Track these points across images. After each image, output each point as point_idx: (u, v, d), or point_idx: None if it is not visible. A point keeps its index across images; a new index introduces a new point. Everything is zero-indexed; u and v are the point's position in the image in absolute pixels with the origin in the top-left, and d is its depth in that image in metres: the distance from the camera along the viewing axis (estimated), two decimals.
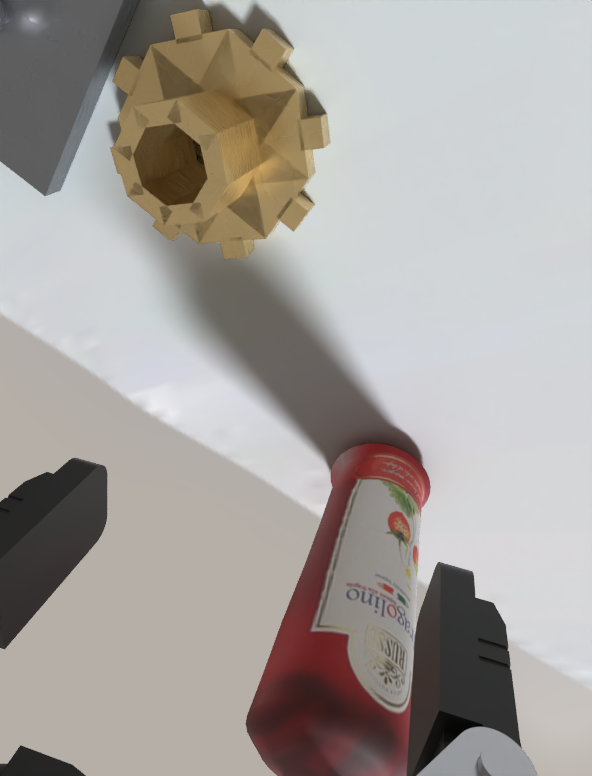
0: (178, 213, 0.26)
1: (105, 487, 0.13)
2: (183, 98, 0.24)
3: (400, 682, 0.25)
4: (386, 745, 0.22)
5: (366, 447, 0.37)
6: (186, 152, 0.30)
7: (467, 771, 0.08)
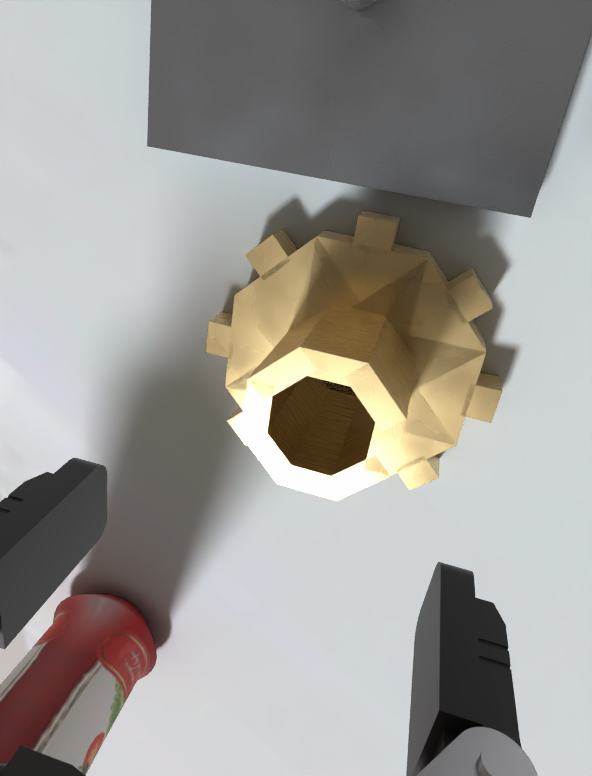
0: (267, 450, 0.19)
1: (105, 487, 0.13)
2: (407, 411, 0.18)
3: None
4: None
5: (132, 620, 0.32)
6: None
7: (467, 771, 0.08)
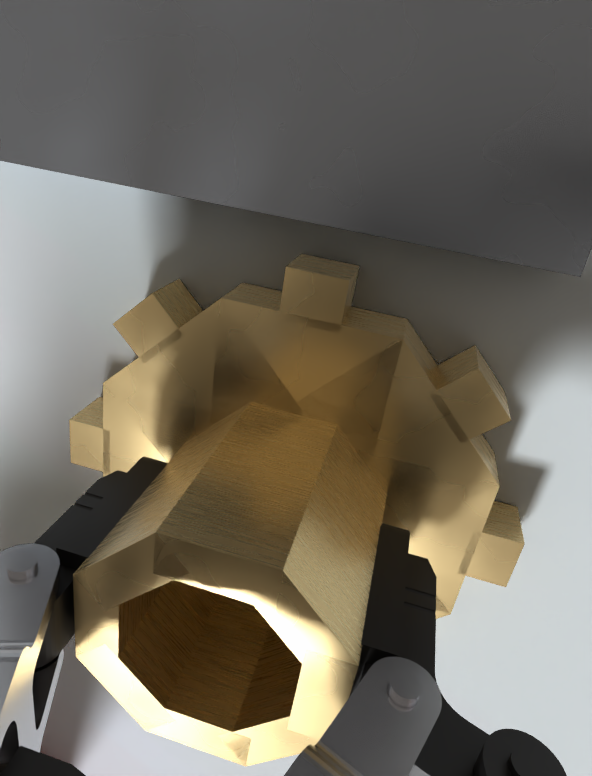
0: (122, 682, 0.11)
1: None
2: None
3: None
4: None
5: None
6: None
7: (380, 698, 0.09)
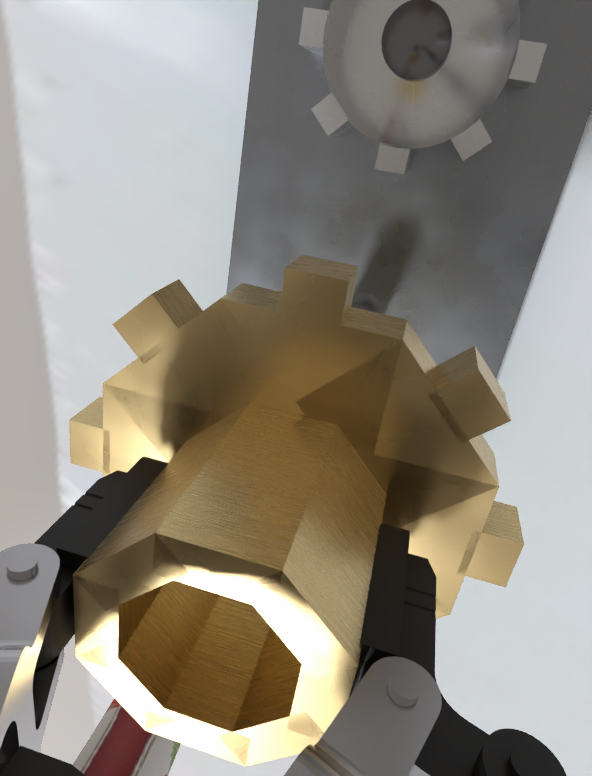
0: (122, 682, 0.11)
1: None
2: None
3: None
4: None
5: None
6: None
7: (380, 698, 0.09)
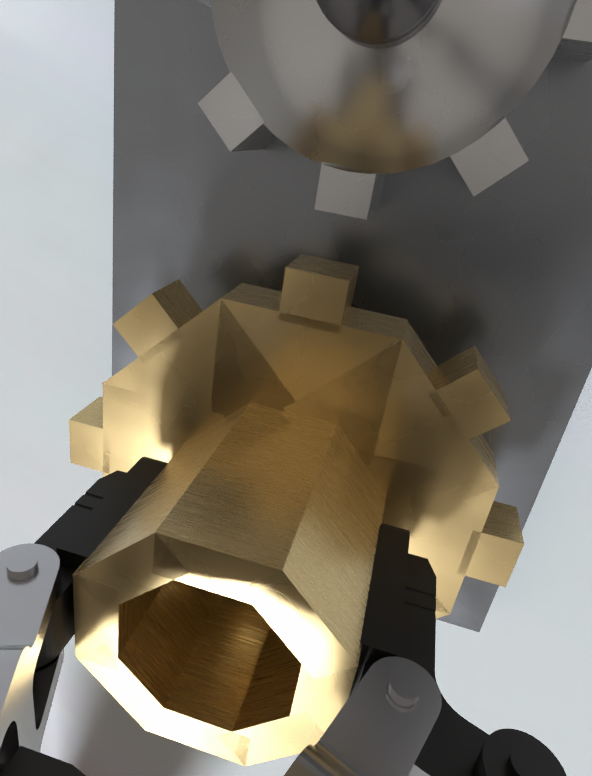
0: (121, 682, 0.11)
1: None
2: None
3: None
4: None
5: None
6: None
7: (380, 698, 0.09)
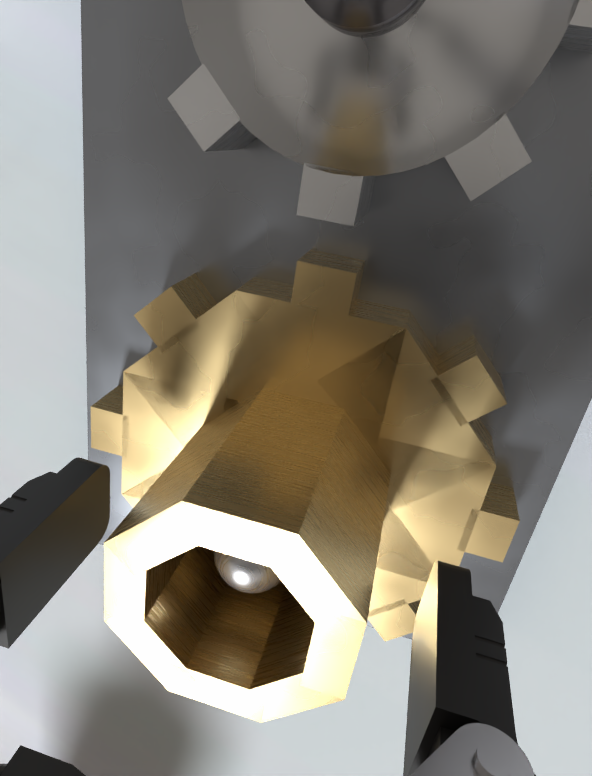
0: (147, 644, 0.12)
1: (108, 487, 0.13)
2: (369, 598, 0.11)
3: None
4: None
5: None
6: None
7: (463, 767, 0.08)
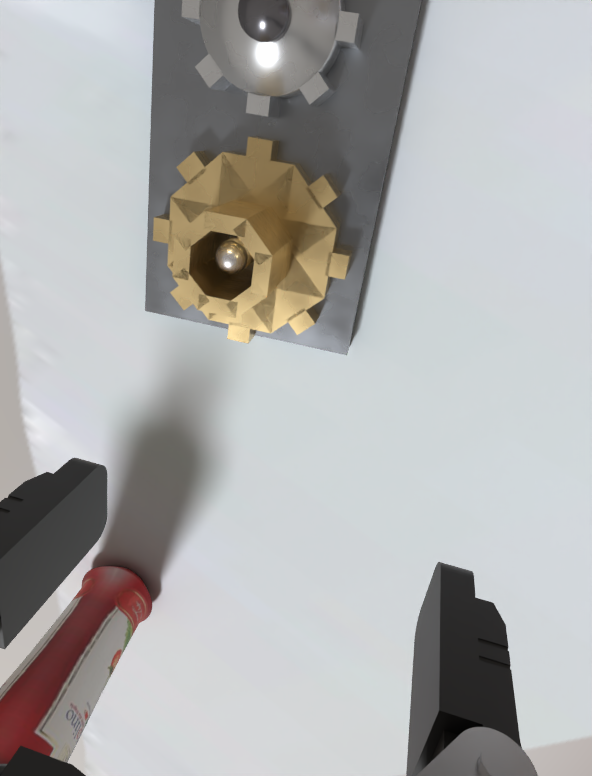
0: (189, 285, 0.30)
1: (105, 487, 0.13)
2: (275, 254, 0.29)
3: None
4: None
5: (136, 581, 0.49)
6: None
7: (467, 771, 0.08)
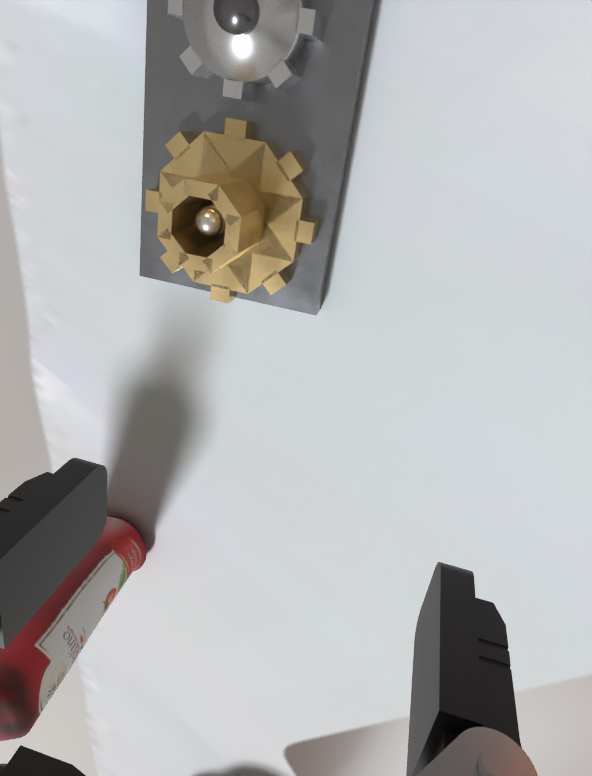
0: (172, 244, 0.34)
1: (105, 487, 0.13)
2: (244, 216, 0.33)
3: (50, 697, 0.42)
4: (24, 728, 0.40)
5: (131, 530, 0.54)
6: None
7: (467, 771, 0.08)
